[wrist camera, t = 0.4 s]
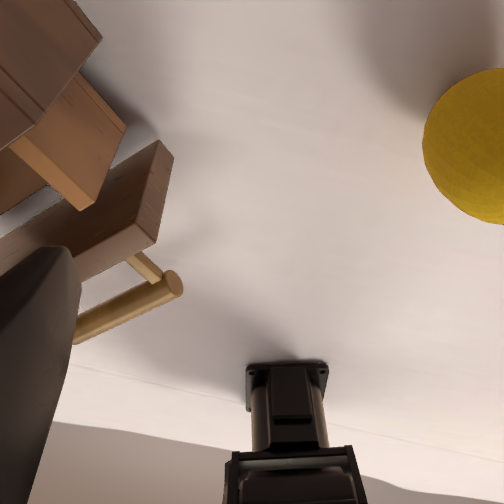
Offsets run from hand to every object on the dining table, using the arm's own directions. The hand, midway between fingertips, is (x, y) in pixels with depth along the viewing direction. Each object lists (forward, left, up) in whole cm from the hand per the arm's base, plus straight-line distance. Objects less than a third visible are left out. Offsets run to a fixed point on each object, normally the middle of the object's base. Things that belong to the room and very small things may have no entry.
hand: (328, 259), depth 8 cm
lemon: (-3, -9, -14) cm, 17 cm away
